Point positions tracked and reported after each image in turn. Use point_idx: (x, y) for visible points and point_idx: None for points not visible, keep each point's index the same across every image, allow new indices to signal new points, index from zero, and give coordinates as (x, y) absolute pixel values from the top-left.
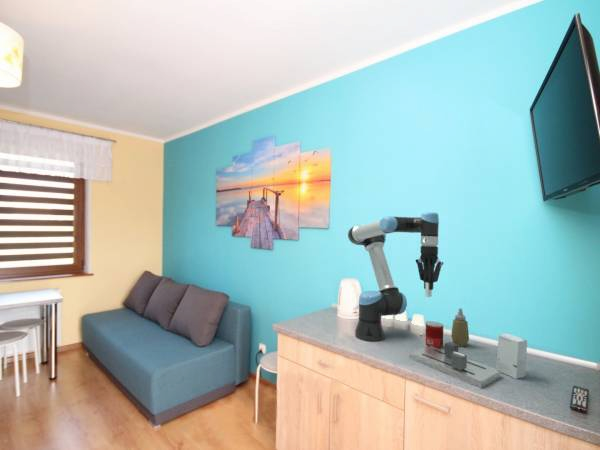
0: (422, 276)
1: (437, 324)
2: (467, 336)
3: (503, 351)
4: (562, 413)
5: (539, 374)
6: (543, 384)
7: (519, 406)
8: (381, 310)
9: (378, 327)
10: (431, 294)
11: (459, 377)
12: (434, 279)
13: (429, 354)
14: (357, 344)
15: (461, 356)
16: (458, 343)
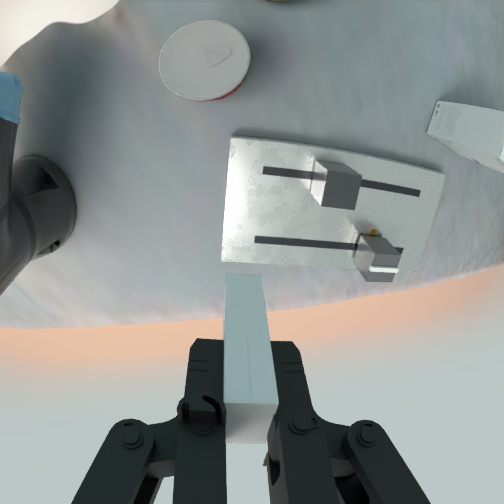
0: (106, 467)
1: (217, 51)
2: None
3: (476, 154)
4: (496, 242)
5: (485, 86)
6: None
7: (455, 273)
8: (6, 240)
9: (46, 224)
10: (262, 289)
11: None
12: (356, 481)
13: (270, 222)
14: (75, 284)
15: (391, 276)
16: (281, 1)
